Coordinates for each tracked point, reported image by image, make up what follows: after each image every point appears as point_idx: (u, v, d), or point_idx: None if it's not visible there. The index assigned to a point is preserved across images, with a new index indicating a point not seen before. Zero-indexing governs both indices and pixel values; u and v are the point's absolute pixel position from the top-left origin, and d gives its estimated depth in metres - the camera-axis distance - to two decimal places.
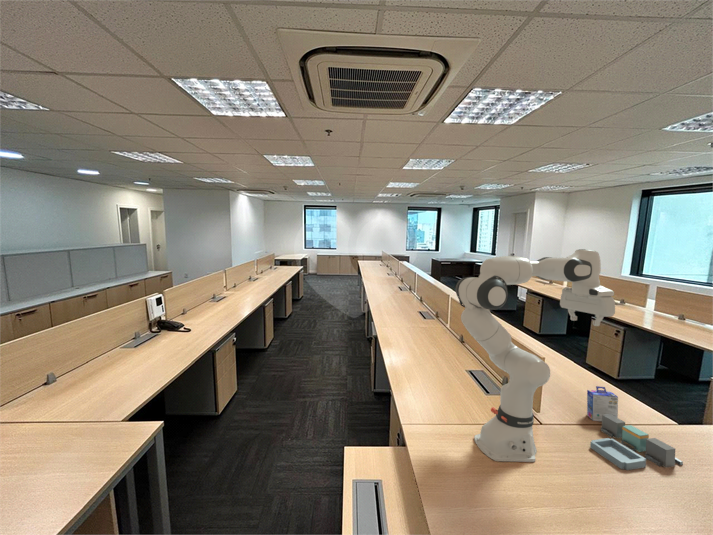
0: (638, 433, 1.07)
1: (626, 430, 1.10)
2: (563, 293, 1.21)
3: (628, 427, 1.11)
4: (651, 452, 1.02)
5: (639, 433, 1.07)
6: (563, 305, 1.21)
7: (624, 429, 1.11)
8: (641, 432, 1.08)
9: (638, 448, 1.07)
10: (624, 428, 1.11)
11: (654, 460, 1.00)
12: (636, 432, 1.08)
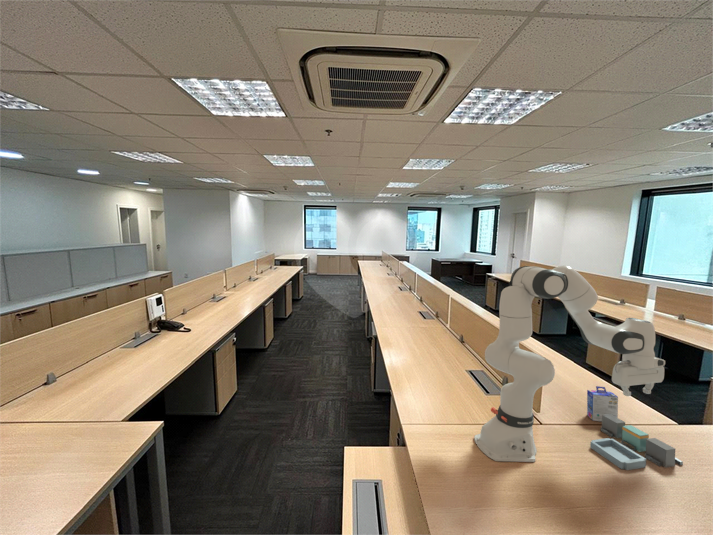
0: (638, 433, 1.07)
1: (627, 430, 1.10)
2: (625, 370, 1.05)
3: (628, 427, 1.11)
4: (651, 452, 1.02)
5: (639, 433, 1.07)
6: (625, 383, 1.05)
7: (624, 429, 1.11)
8: (641, 432, 1.08)
9: (638, 448, 1.07)
10: (624, 428, 1.11)
11: (654, 460, 1.00)
12: (636, 432, 1.08)
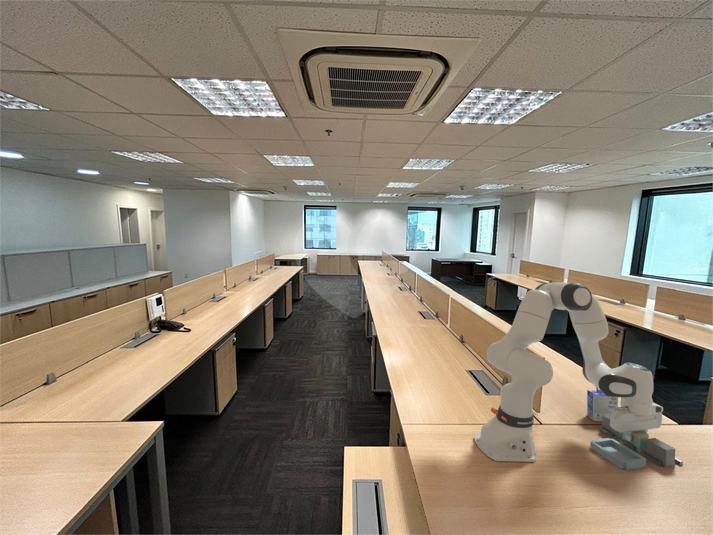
0: (638, 433, 1.07)
1: None
2: (623, 416, 1.06)
3: None
4: (651, 452, 1.02)
5: (639, 433, 1.07)
6: (623, 430, 1.06)
7: None
8: (641, 432, 1.08)
9: (638, 448, 1.07)
10: None
11: (654, 460, 1.00)
12: (636, 432, 1.08)
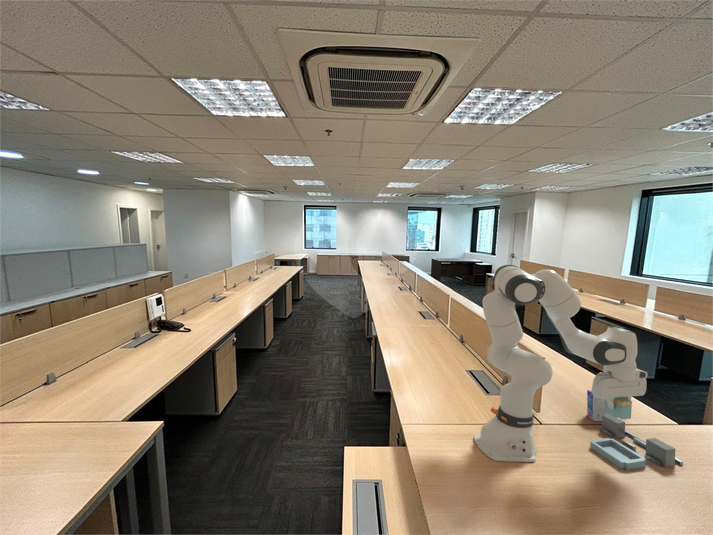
0: (621, 400, 1.01)
1: None
2: (605, 382, 1.00)
3: None
4: (651, 452, 1.02)
5: (622, 400, 1.01)
6: (605, 396, 1.00)
7: None
8: (624, 399, 1.02)
9: (621, 415, 1.01)
10: None
11: (654, 460, 1.00)
12: (619, 399, 1.02)
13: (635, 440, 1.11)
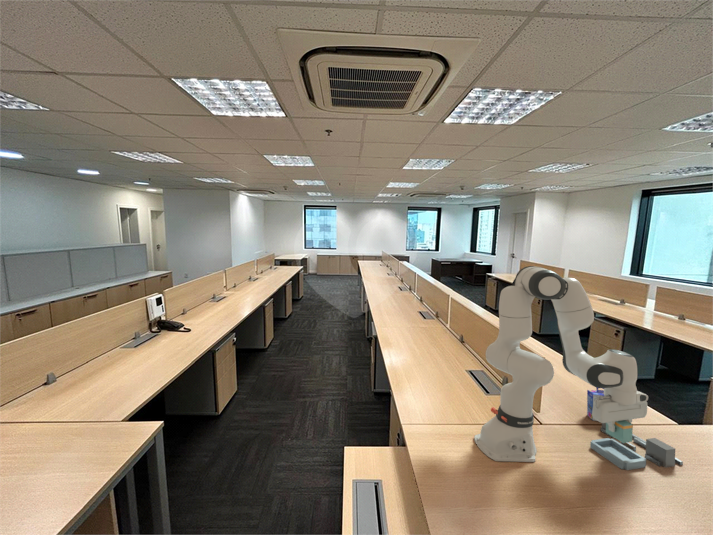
0: (622, 423, 1.01)
1: None
2: (605, 406, 1.00)
3: None
4: (651, 452, 1.02)
5: (623, 423, 1.01)
6: (606, 420, 1.00)
7: None
8: (625, 422, 1.02)
9: (622, 439, 1.01)
10: None
11: (654, 460, 1.00)
12: (620, 422, 1.02)
13: (635, 440, 1.11)
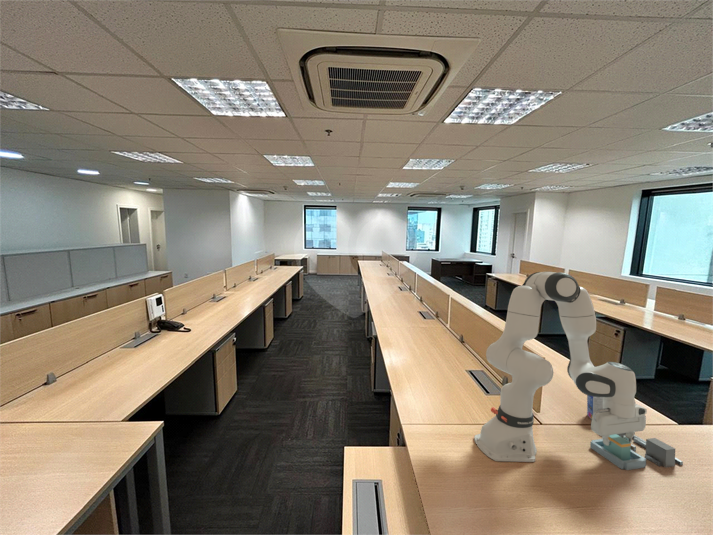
0: (620, 441, 1.02)
1: (608, 438, 1.05)
2: (604, 419, 1.00)
3: None
4: (651, 452, 1.02)
5: (621, 441, 1.02)
6: (604, 433, 1.01)
7: None
8: (623, 440, 1.02)
9: (620, 457, 1.01)
10: None
11: (654, 460, 1.00)
12: (618, 440, 1.02)
13: (635, 440, 1.11)
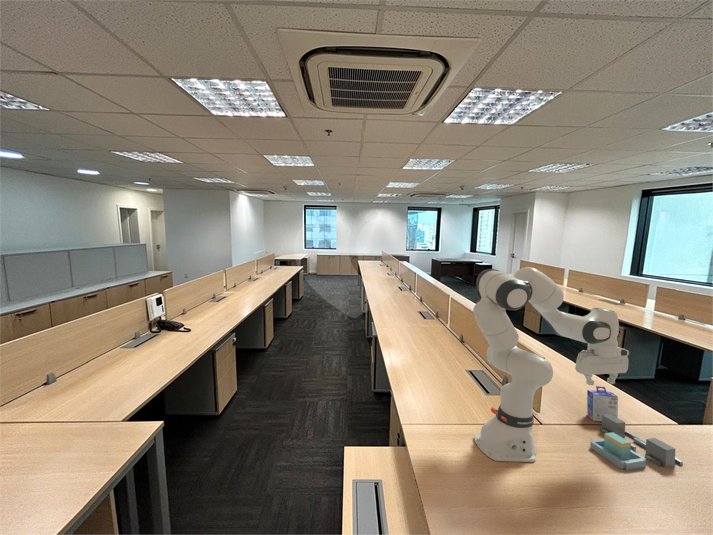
0: (620, 441, 1.02)
1: (608, 438, 1.05)
2: (588, 358, 1.06)
3: (610, 434, 1.05)
4: (651, 452, 1.02)
5: (621, 441, 1.02)
6: (588, 372, 1.06)
7: (606, 437, 1.06)
8: (623, 440, 1.02)
9: (620, 457, 1.01)
10: (606, 435, 1.06)
11: (654, 460, 1.00)
12: (618, 440, 1.02)
13: (635, 440, 1.11)
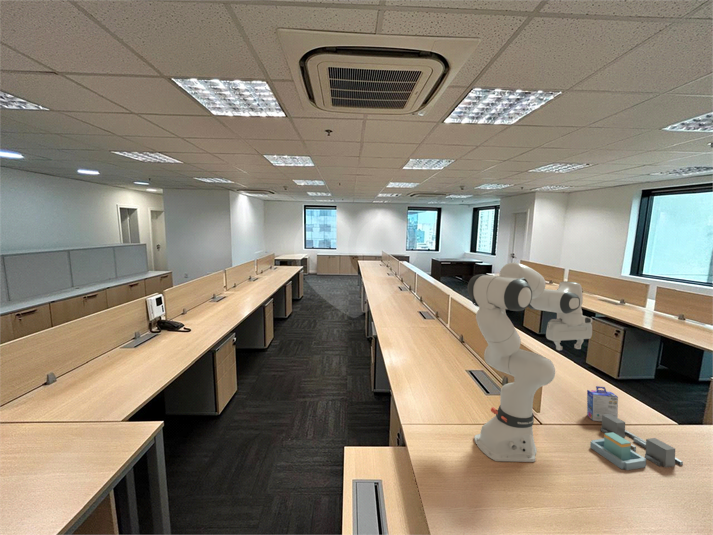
0: (620, 441, 1.02)
1: (608, 438, 1.05)
2: (556, 326, 1.19)
3: (610, 434, 1.05)
4: (651, 452, 1.02)
5: (621, 441, 1.02)
6: (556, 338, 1.19)
7: (606, 437, 1.06)
8: (623, 440, 1.02)
9: (620, 457, 1.01)
10: (606, 435, 1.06)
11: (654, 460, 1.00)
12: (618, 440, 1.02)
13: (635, 440, 1.11)
